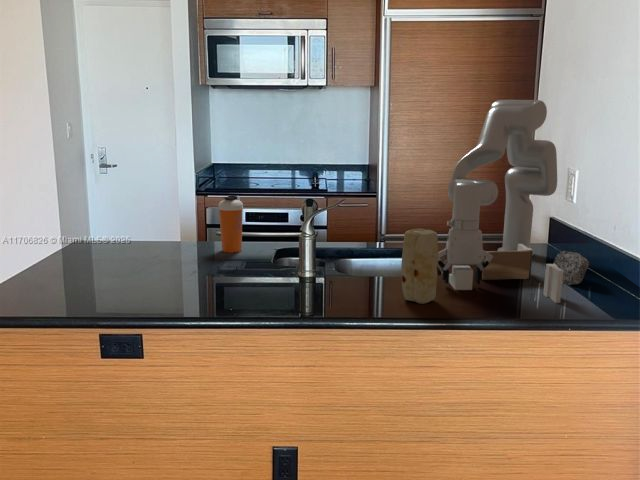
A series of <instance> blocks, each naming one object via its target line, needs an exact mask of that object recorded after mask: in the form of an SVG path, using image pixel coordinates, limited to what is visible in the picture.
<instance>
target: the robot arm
mask: <svg viewBox="0 0 640 480" xmlns="http://www.w3.org/2000/svg"><path fill="white" fill-rule="evenodd" d="M547 114H548V108H547V106H546V103H545V102H544V101H543V100H539V99H498V100H496V101H494V102H493V103H491V105H490V109H489V110H488V111H487V113H486V115H485V116H486V117H485V119H484V122H483V124H482V129H481V131H480V134H479V138H478V141H477V144H476V146H475V147H474V148H473V149H471V150H470V151H469V152H467V153H466V154H465V155H463V156H462V158H461V159H459V160H458V162H457V163H456V164H455V166H454V168H453V170H452V173H451V176H450V179H449V183H448V187H447V195H448V197H449V200H450V201H452V202H453V203H452V205H453V206H452V218H451V220H447V222H446V225H447V226H449V227H451V228H449V230H448V234H447V239H446V245H445V248H443V249H442V250H440V251H438V266H440V267H441V268H442V272H441V273H442V276H441V278H442V281H443V282H444V283H445V284H447V285H448V284H449V274H450V270H449V268H450V267H452V265H453V266H470V265H471V266H476V268H475V271H474V282H475V283H476V284H477V285H480V283H481V281H482V280H483V279H482V271H483V270H484V268H485V267H486V266H488V265H489V262H490V261H491V260H492V258H493V256H492V255H491V254H489V253H488V252H486V250H484V247H483V233H482V230H481V229H479V227H480V226H479V225H480V211H481V206H489V205H492V204H493V203H494V202H495V201H496V199H497V198H498V195H499V189H498V185H497V184H496V183H495V182H494V181H492V180H489V179H482V178H480V179H478V178H470V177H469V178H468V177H467V175H469V173H471V172H472V171H473V170H475V169H477V168H479V167H483V166H485V165H489V164H491V163H494V162H496V161H499V160H501V158H503V157H504V154H505V152H506V156H507V157H506V158H507V161H508V164H509V165H510V166H513V167H510V168H509V169H508V170H507V171H506V173H505V175H504V186H505V188H504V189H505V210H504V222H503V223H504V224H503V225H504V226H503V235H502V236H503V237H502V247H498V248H497V251H517V250H518V244H523V245H524V246H526V247H527V248H531V238H532V226H533V218H534V217H533V216H534V205H533V202H532V200H531V198H530V197H529V196H530V195H531V196H542V197H548V196H552V195H554V194H555V193H556V191H557V189H558V188H557V187H558V159H557V158H558V157H557V156H558V155H557V147H556V145H555V143H553V142H552V141H550V140H545V139H544V140H542V139H534V138H533V133H534V132H535V131H537V130H538V129H540V127H542V126H543V124H544V123H545V122H546V119H547ZM483 255H484V256H486V259H485V260H484V261H483V262H482V259H483ZM534 255H535V252H534V250H533V255H532V257H534ZM443 256H444V259H445V260H444V262H443V261H442V259H441V257H443Z"/></svg>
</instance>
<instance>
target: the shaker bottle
mask: <svg viewBox="0 0 640 480" xmlns="http://www.w3.org/2000/svg"><path fill="white" fill-rule="evenodd" d="M222 199H223V200H221V201H219V203H218V210H219V211H218V212H219V224H220V225H219V226H220V239H221V251H222V252H223V253H227V252H228V253H233V254H234V252H235V253H239V252H242V250H243V247H242V243H243V242H242V241H243V212H244V211H243V210H244V204H243V202H242V201H241V199H240V196H239V195H228V196H224V197H222Z"/></svg>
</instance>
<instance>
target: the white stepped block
mask: <svg viewBox="0 0 640 480" xmlns="http://www.w3.org/2000/svg"><path fill="white" fill-rule="evenodd" d="M473 281H474V269H473V268H472V267H471V266H470V265H451V273H449V282H448V284H450V285H451V287H452V289H454V290H455V291H472V290H473Z"/></svg>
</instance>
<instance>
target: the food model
mask: <svg viewBox="0 0 640 480" xmlns="http://www.w3.org/2000/svg"><path fill="white" fill-rule="evenodd" d="M438 235H439V234H437V232H436V231H434V230H431V229H425V228H412V229H409V230H406V231H405V232H404V237H403V241H402V242H403V245H402V252H401V253H402V254H401V265H400V266H401V287H402V293H403V294H402V295H403V297H404V299H405V300H406V301H410V302H415V303H417V304H421V305H423V304H427V303H430V302H431V301H434V300H435V298H436V296H437V295H436V293H437V292H436V291H437V282H438V266H439V264H438V252H439V240H438V239H439V237H438Z"/></svg>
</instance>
